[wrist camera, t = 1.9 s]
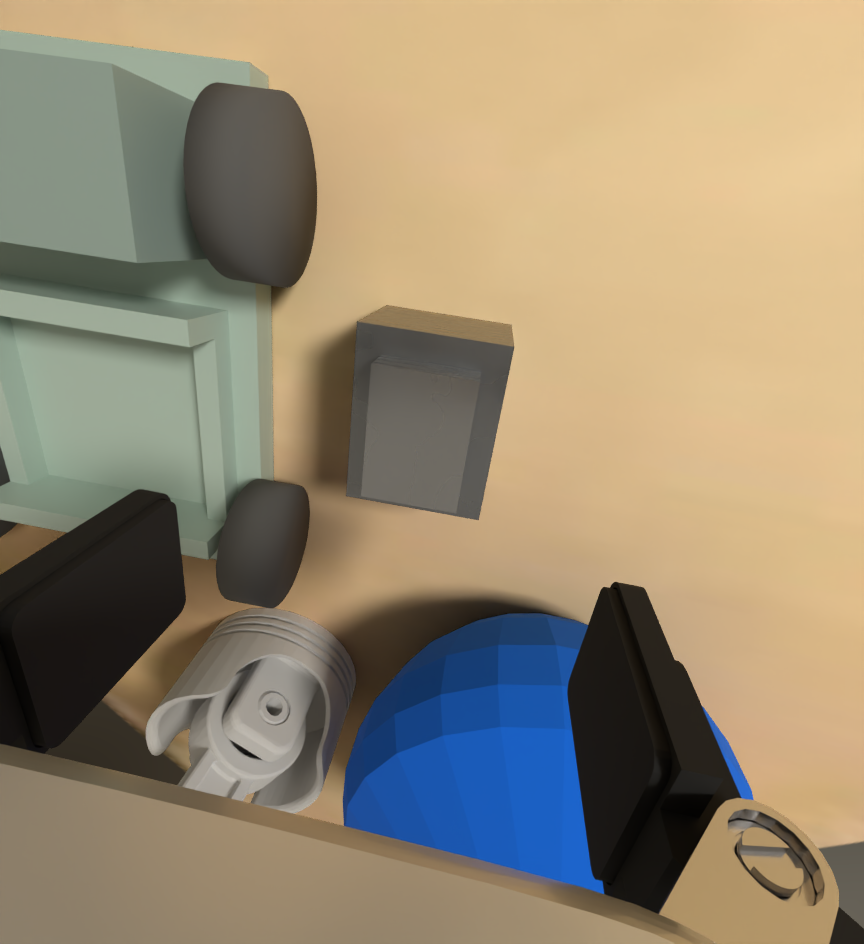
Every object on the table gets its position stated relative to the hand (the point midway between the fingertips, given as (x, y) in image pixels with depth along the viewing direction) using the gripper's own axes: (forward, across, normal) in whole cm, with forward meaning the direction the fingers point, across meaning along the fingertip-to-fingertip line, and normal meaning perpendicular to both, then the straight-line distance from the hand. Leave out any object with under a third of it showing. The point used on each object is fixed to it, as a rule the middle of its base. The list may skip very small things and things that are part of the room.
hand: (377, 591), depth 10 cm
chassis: (+13, +16, -1) cm, 21 cm away
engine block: (+14, +1, -1) cm, 14 cm away
